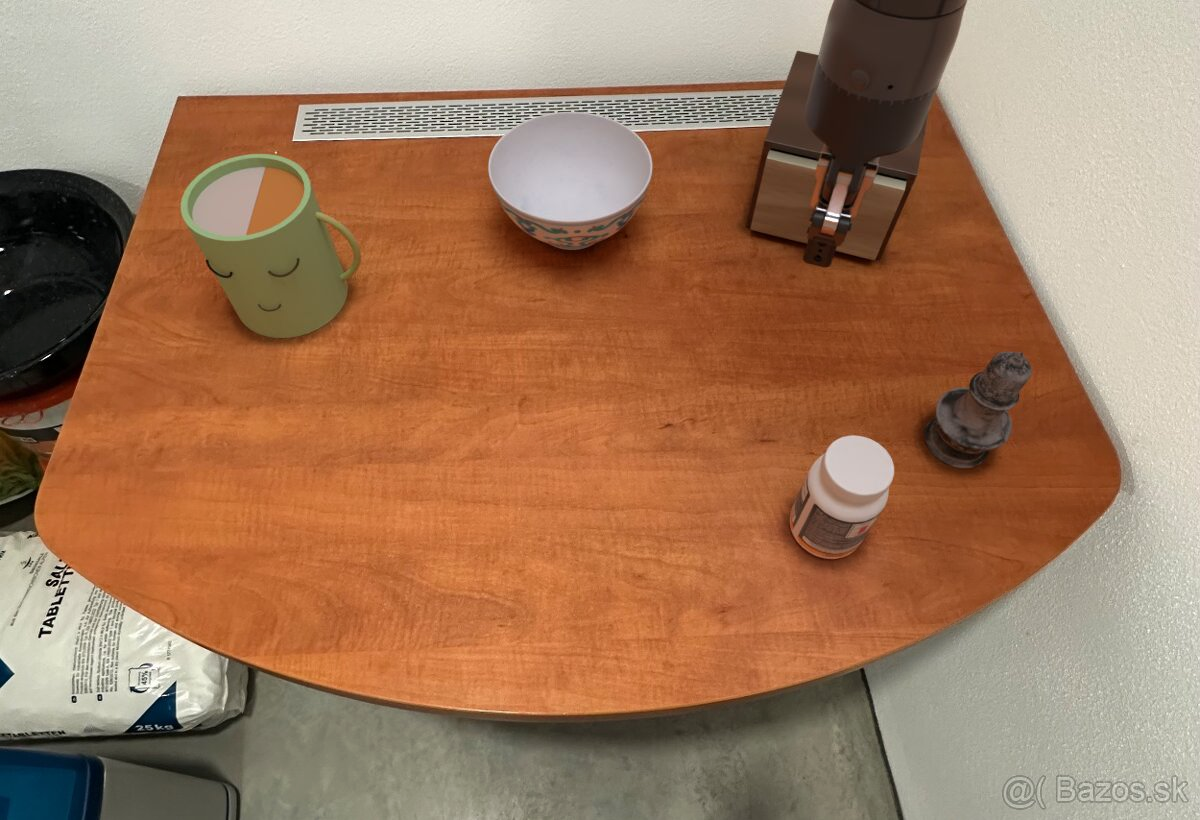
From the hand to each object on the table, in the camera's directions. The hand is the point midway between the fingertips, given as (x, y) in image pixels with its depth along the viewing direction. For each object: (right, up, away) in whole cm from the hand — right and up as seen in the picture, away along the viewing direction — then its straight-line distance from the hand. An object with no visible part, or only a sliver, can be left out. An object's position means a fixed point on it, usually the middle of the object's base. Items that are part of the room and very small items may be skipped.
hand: (817, 258), depth 63 cm
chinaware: (-20, +6, +16) cm, 27 cm away
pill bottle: (0, -21, -1) cm, 21 cm away
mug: (-44, -2, +11) cm, 46 cm away
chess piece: (+12, -15, +3) cm, 19 cm away
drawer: (+5, +9, +17) cm, 20 cm away
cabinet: (+6, +10, +19) cm, 22 cm away
